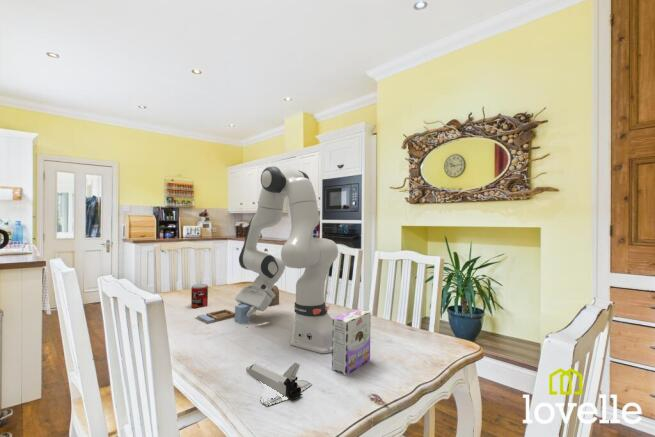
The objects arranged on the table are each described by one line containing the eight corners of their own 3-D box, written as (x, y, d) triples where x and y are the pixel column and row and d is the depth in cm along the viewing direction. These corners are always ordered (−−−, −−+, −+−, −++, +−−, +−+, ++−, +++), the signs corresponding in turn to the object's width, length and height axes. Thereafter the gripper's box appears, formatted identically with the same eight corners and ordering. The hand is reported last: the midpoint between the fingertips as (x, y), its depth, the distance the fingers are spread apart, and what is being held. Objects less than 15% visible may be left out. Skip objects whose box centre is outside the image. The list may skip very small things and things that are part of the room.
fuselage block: (250, 323, 145) (250, 305, 145) (240, 326, 141) (240, 308, 141) (244, 321, 148) (245, 303, 148) (234, 324, 144) (235, 305, 144)
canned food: (188, 308, 168) (188, 286, 168) (198, 304, 176) (198, 283, 176) (200, 309, 166) (200, 287, 166) (210, 305, 174) (210, 284, 173)
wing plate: (214, 321, 144) (214, 319, 144) (208, 323, 142) (208, 320, 142) (203, 316, 151) (203, 314, 151) (197, 317, 148) (197, 315, 148)
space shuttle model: (267, 362, 109) (267, 332, 108) (320, 391, 91) (320, 355, 91) (223, 379, 97) (224, 345, 97) (274, 415, 80) (275, 374, 80)
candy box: (356, 355, 114) (356, 308, 114) (370, 360, 110) (371, 311, 110) (331, 369, 103) (331, 317, 103) (346, 375, 99) (347, 321, 99)
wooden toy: (279, 304, 177) (280, 257, 177) (269, 306, 173) (269, 258, 173) (264, 298, 189) (265, 255, 189) (254, 300, 184) (254, 255, 184)
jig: (240, 318, 152) (240, 313, 152) (206, 327, 140) (206, 321, 140) (226, 313, 160) (226, 308, 160) (194, 320, 148) (194, 315, 148)
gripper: (243, 280, 157) (224, 305, 150) (269, 287, 143) (250, 315, 136) (251, 288, 160) (233, 313, 153) (278, 296, 146) (259, 323, 139)
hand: (241, 314), depth 144 cm, fingers open, 7 cm apart
